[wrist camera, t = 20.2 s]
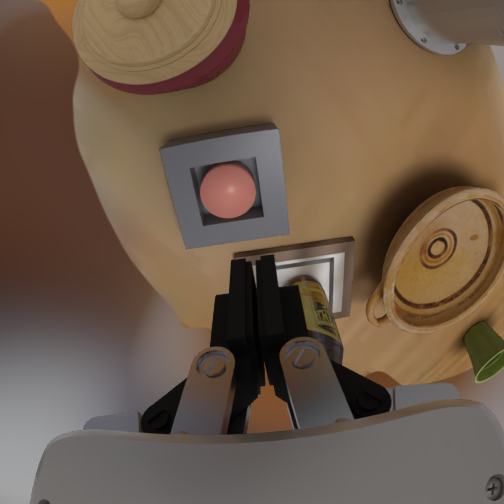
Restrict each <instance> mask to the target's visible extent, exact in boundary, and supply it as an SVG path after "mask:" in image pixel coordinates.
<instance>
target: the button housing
mask: <svg viewBox="0 0 504 504" xmlns="http://www.w3.org/2000/svg"><path fill="white" fill-rule="evenodd" d="M160 154H161V158H162V162H163V166H164V170H165V174H166V178H167V182H168V186H169V189H170V193H171V197H172V201H173V205H174V208H175V212H176V216H177V219H178V223H179V226H180V230H181V233H182V237H183V240H184V244H185V247H186V249H192V248H198V247H205V246H212V245H219V244H225V243H232V242H239V241H246V240H253V239H260V238H267V237H274V236H281V235H288V234H290V233H289V222H288V211H287V201H286V191H285V181H284V172H283V163H282V154H281V146H280V137H279V129H278V128H277V127H276V125H275V124H274V123H272V124H264V125H256V126H249V127H242V128H236V129H229V130H223V131H218V132H212V133H207V134H201V135H196V136H191V137H186V138H181V139H177V140H172V141H168V142H167V143H166V144H165V145H164V146H163V147H162V148H161V149H160ZM233 160H237V161H239V162H241V163H243V164H245V165H246V166H247V167H248V168H249V169H250V171H251V173H252V175H253V178H254V183H255V190H256V196H255V200H254V203H253V205H252V206H251V208H250V209H249V210H248V211H247V212H246V213H244V214H242V215H240V216H238V217H235V218H221V217H218V216H215V215H213V214H212V213H210V212H209V211H208V210H207V209H206V208H205V206H204V205H203V203H202V201H201V197H200V188H201V184H202V181H203V178H204V175H205V173H206V171H207V170H208V168H209V167H210V166H211V165H213V164H215V163H221V162H227V161H233Z"/></svg>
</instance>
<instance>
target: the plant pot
mask: <svg viewBox="0 0 504 504" xmlns="http://www.w3.org/2000/svg"><path fill="white" fill-rule="evenodd" d="M464 343H465V346H466V349H467V351H468V354H469V357H470V359H471V362H472V365H473V368H474V373H475V382H476V383H481V382H484V381H486V380H488V379H490V378H491V377H493V376H494V375H496V374H497V373H498V372H499V371H501V370H502V369H503V368H504V340H503V339H502V338H501V337H500V336H499V335H498V334H497V333H496V332H495V331H494V330H493V329H492V328H491V327H490V326H489V325H488V324H487V323H486V322H484V321H482V322H479V323H478V324H477V325H474V326H473V327H471V328H470V329H469V331H468V332H467V333H466V335H465V337H464Z"/></svg>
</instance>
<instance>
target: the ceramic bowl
mask: <svg viewBox="0 0 504 504" xmlns="http://www.w3.org/2000/svg"><path fill="white" fill-rule="evenodd" d="M503 274H504V198H503V197H502V196H501V195H500V194H499V193H497V192H495V191H493V190H490V189H486V188H480V187H473V186H458V187H451V188H449V189H446V190H443V191H440V192H438V193H436V194H435V195H433V196H431V197H430V198H428V199H426V200H425V201H424V202H423V203H421V204H420V205H419V206H418V207H417V208H416V209H415V210H414V211H413V212H412V213H411V214H410V215H409V216H408V217H407V218H406V219H405V221H404V222H403V224H402V225H401V226H400V228H399V229H398V231H397V232H396V234H395V236H394V238H393V239H392V241H391V243H390V246H389V248H388V251H387V253H386V256H385V261H384V265H383V270H382V281H381V282H380V283H379V284H378V286H377V287H376V289H375V290H374V291H373V293H372V295H371V296H370V298H369V300H368V303H367V306H366V315H367V318H368V321H369V322H370V323H371V324H373V325H374V326H377V327H381V326H384V325H386V324H388V323H389V322H392V324H393V325H395V326H396V327H397V328H399V329H401V330H403V331H406V332H409V333H416V334H423V333H431V332H436V331H439V330H442V329H445V328H447V327H449V326H451V325H453V324H455V323H457V322H459V321H460V320H462V319H464V318H465V317H467V316H468V315H469V314H470V313H472V312H473V311H474V310H475V309H477V308H478V307H479V306H480V305H481V304H482V303H483V302H484V301H485V300H486V299H487V297H488V296H489V295H490V294H491V293H492V291H493V290H494V289H495V287H496V286H497V284H498V283H499V281H500V280H501V278H502V276H503ZM382 296H383V302H384V309H385V312H386V314H385V315H384V316H383V317H381V318H378V319H376V317H375V316H374V307H375V305H376V303H377V301H378V300H379V299H380V298H381V297H382Z"/></svg>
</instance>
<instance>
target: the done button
mask: <svg viewBox="0 0 504 504" xmlns="http://www.w3.org/2000/svg"><path fill="white" fill-rule="evenodd" d="M255 196H256V190H255V183H254V178H253V175H252V173H251V171H250V169H249V168H248V167H247V166H246V165H245V164H243V163H241V162H239V161H237V160H233V161H227V162H221V163H215V164H213V165H211V166H210V167H209V168H208V170H207V171H206V173H205V175H204V178H203V181H202V184H201V188H200V197H201V201H202V203H203V205H204V206H205V208H206V209H207V210H208V211H209V212H210V213H212V214H213V215H215V216H218V217H221V218H235V217H238V216H240V215H242V214H244V213H246V212H247V211H248V210H249V209H250V208H251V206H252V205H253V203H254V200H255Z"/></svg>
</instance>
